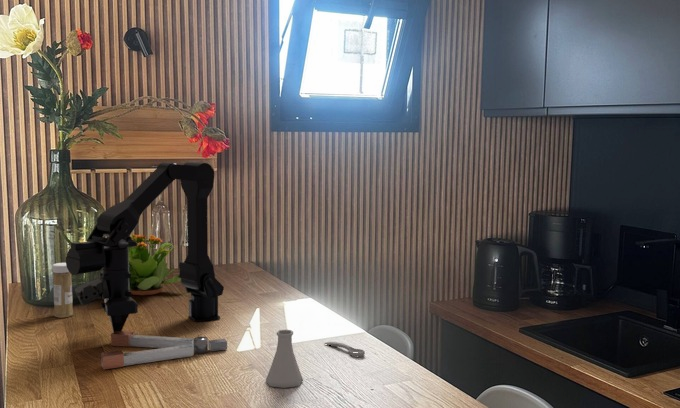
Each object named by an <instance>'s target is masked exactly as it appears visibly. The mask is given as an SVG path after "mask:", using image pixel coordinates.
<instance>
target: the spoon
mask: <svg viewBox="0 0 680 408" xmlns="http://www.w3.org/2000/svg"><path fill="white" fill-rule="evenodd" d="M325 344H327V345H331V346H330V347H338V348H343V349H345V350H347V351H348V354H349V355H350V356H351V355H353V356H358V357H357V358H362V357H364V356H365V354H366V353H365V350H364V349H360V348H354V347H352V346H350V345H348V344H347V343H342V342H338V341H327V342H326V341H325V342H324V345H325ZM353 352H358V353H353ZM353 356H352V357H353ZM361 356H362V357H361Z"/></svg>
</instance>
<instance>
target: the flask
mask: <svg viewBox="0 0 680 408" xmlns="http://www.w3.org/2000/svg"><path fill="white" fill-rule="evenodd" d="M293 335H294V331H293V330H291V329H278V330H277V331H276V336H277V344H276V351H275V353H274V357H273V359H272V363H271V366H270V367H269V371H268V374H267V376H266V379H265V382H266V383H267V385H268V386H269V387H275V388H282V389H283V388H284V389H285V388H287V389H288V388H294V387H299V386H300V385H301V384H302V383H303V381H304V379H303V376H302V374H301V370H300V367H299V365H298V362H297V359H296V356H295V353H294V352H295V351H294V349H293V348H294V347H293V342H292V341H293V340H292V339H293V338H292V337H293Z"/></svg>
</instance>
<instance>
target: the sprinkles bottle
mask: <svg viewBox="0 0 680 408" xmlns="http://www.w3.org/2000/svg"><path fill="white" fill-rule="evenodd" d="M51 268H52V275H53V276H52V277H53V281H52V283H53V304H54V313H53V315H54V317H55V318H58V319H59V318H65V319H66V318H69V317H71V316H73V315H74V311H73V283H72V274H71V273H70V272H69V271H68V269H67V266H66V262H57V263H53V264H52V267H51Z"/></svg>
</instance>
